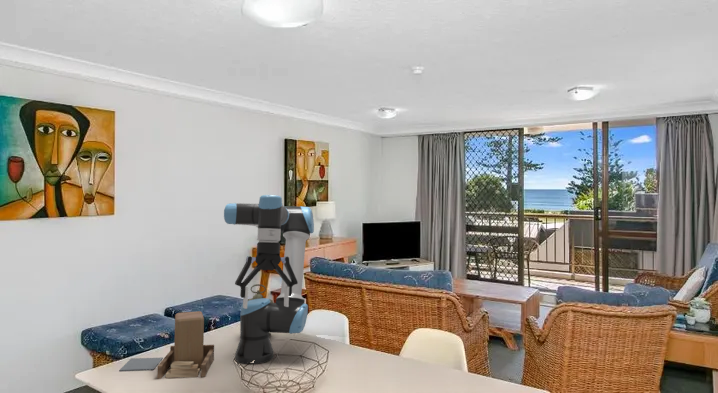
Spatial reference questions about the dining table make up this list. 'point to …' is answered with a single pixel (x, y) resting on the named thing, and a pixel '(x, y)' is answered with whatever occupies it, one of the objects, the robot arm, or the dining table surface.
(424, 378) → the dining table surface
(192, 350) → the wooden block
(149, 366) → the felt pad
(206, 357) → the brown wooden tray
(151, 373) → the dining table surface
